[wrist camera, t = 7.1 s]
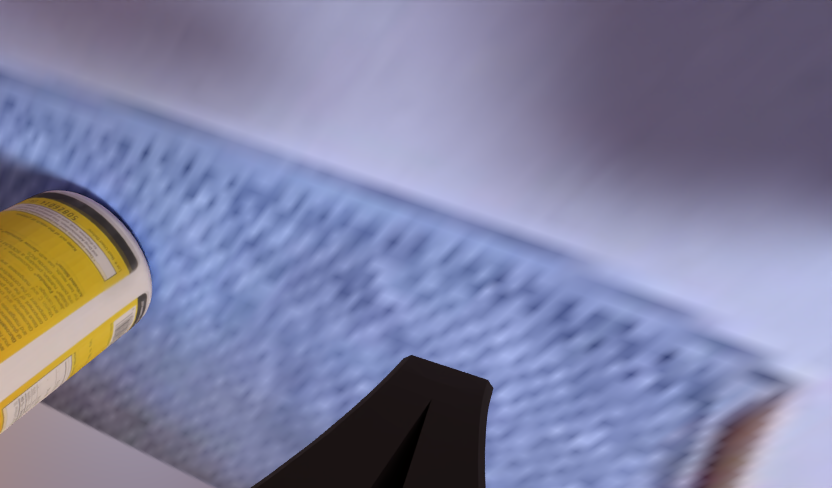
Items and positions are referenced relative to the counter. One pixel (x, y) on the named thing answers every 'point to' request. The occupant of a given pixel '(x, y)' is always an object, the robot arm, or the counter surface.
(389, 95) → the counter surface
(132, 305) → the pill bottle
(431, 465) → the robot arm
